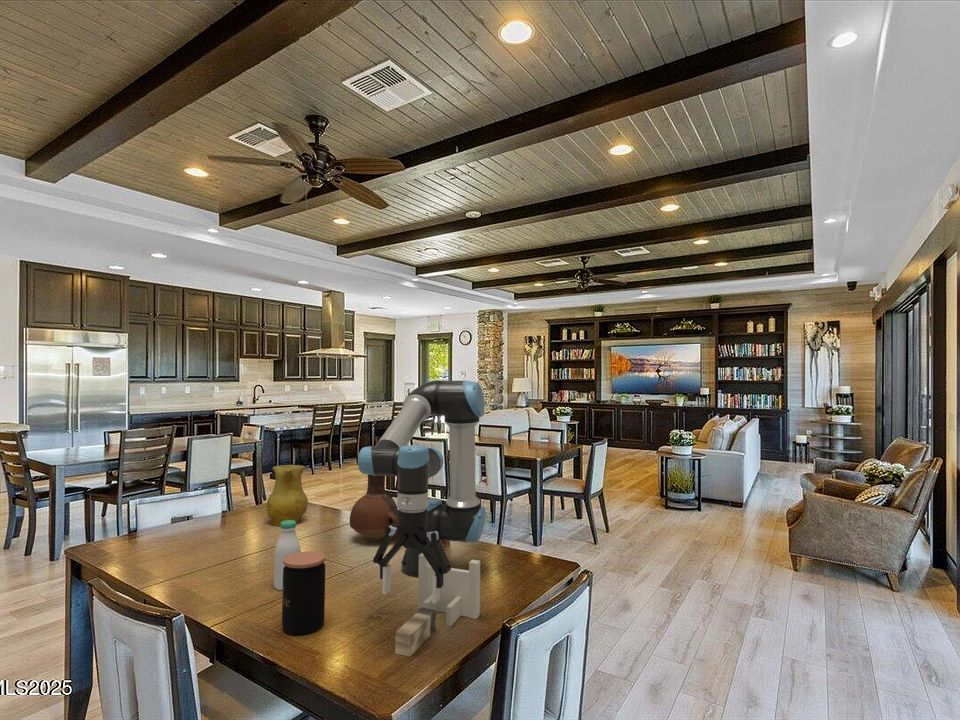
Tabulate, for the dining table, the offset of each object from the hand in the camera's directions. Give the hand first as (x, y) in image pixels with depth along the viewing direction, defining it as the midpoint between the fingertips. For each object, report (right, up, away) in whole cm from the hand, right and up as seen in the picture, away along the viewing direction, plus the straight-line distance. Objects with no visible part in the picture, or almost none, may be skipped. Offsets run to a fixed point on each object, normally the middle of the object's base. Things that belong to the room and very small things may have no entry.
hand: (410, 596), depth 131 cm
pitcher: (-68, -14, +107) cm, 128 cm away
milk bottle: (-43, -13, +36) cm, 58 cm away
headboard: (+7, -13, +16) cm, 22 cm away
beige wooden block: (+1, -12, +3) cm, 13 cm away
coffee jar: (-30, -12, +10) cm, 33 cm away
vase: (-25, -14, +83) cm, 88 cm away
